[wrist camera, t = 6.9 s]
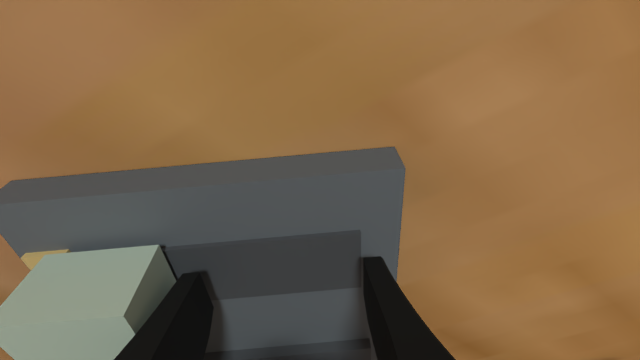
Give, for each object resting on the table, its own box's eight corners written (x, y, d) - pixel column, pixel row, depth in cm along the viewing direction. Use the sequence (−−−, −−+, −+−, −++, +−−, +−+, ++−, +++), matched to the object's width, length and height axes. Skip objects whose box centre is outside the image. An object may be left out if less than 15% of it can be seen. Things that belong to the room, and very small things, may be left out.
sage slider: (159, 244, 12) (122, 316, 9) (191, 314, 14) (169, 386, 11) (45, 254, 12) (-20, 328, 9) (95, 322, 14) (54, 396, 11)
